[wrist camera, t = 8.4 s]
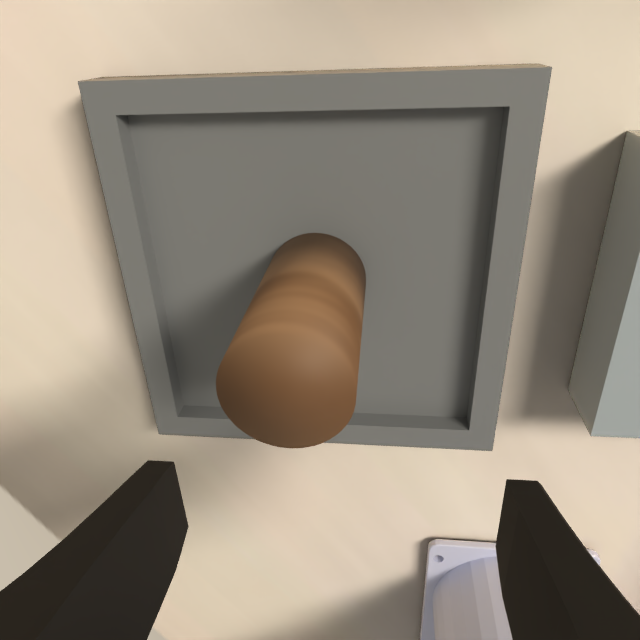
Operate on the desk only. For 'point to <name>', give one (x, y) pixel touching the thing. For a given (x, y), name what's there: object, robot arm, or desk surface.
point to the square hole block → (614, 315)
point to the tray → (327, 227)
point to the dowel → (298, 346)
